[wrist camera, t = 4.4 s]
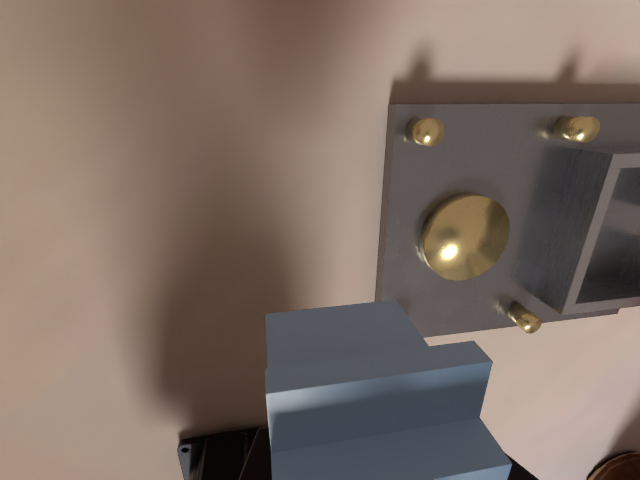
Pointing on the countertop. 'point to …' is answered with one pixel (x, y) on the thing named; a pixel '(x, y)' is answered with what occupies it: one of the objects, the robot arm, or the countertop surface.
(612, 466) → the coffee cup
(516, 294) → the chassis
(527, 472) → the robot arm
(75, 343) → the countertop surface
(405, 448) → the servo
